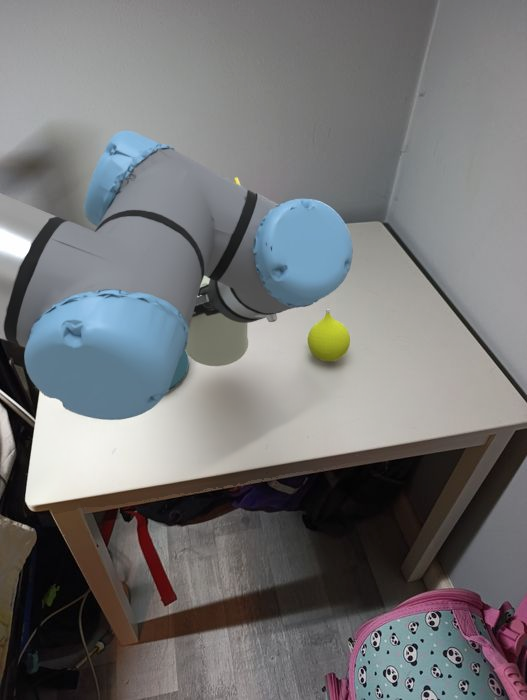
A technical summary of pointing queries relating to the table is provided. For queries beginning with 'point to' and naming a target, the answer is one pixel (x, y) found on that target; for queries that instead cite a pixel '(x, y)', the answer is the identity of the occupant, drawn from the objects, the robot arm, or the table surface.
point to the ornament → (328, 339)
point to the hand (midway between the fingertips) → (208, 308)
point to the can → (216, 338)
